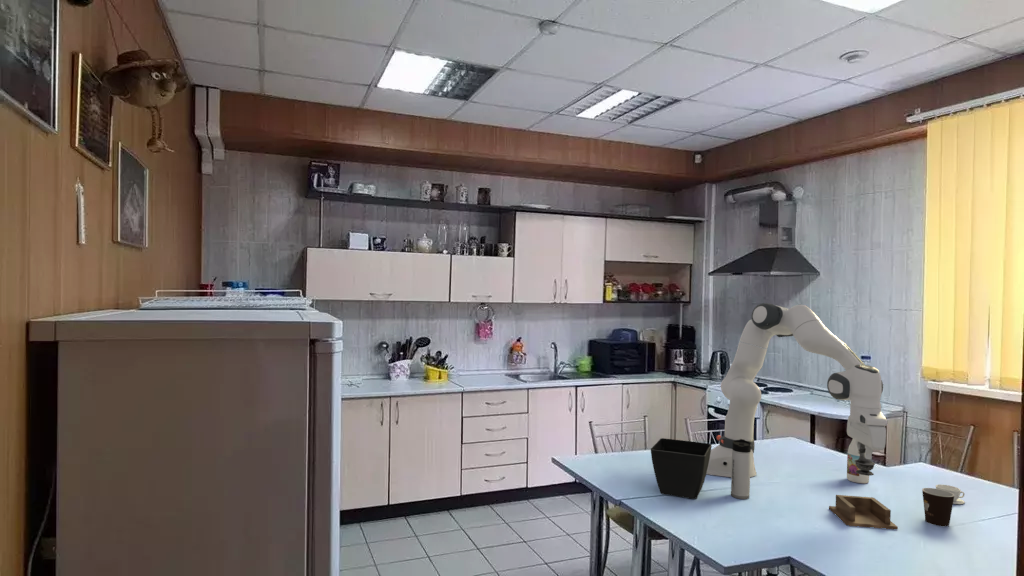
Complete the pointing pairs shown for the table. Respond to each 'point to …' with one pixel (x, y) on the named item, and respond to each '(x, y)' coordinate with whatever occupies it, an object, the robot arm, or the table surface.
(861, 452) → the grey chess piece
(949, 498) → the coffee mug
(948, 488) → the teacup
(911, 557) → the table surface
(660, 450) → the flower pot
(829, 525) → the table surface
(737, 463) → the travel mug
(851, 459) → the milk bottle
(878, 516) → the u-rest
